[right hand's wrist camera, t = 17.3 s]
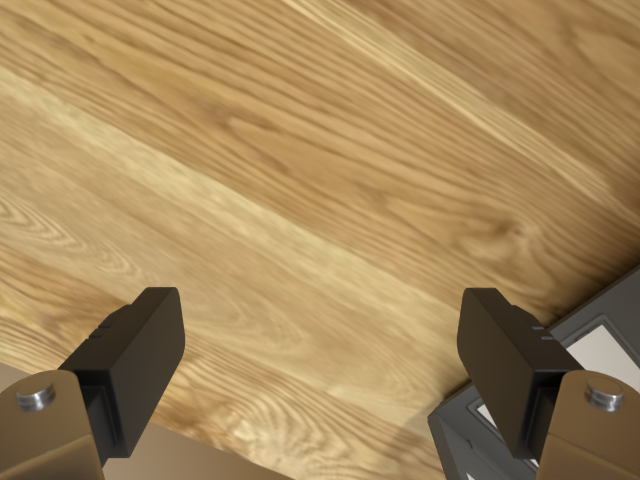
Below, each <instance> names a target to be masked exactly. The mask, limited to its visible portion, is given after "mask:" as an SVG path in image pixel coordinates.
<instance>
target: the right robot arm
mask: <svg viewBox="0 0 640 480" xmlns="http://www.w3.org/2000/svg"><path fill="white" fill-rule="evenodd" d="M184 348H185V332H184V325H183V317H182V310H181V303H180V296H179V292H178V290H177V288H175V287H147V288H146V289H145V290H144V291H143V292H142V293H141V294H140V295H139V296H138V297H137V299H136V300H135V301H134V302H133V303H132V304H131V305H125V306H123V307H122V308H120V309H118V310H116V311H115V312H113V313H111V314H110V315H109V316H108V317H107V318H106V319H105V320H104V321H103V322H102V323H101V324H100V325H99V326H98V329H95V330H94V331H93V332H92V333H91V334H90V335H89V339H86V340H85V341H84V342H83V343H82V344H81V345H80V346H79V347H78V348H77V349H76V350H75V351H74V352H73V353H72V354H71V355H70V356H69V357H68V358H67V359H66V360H65V361H64V363H63V364H62V365H61V366H60V367H59V368H58V369H57V370H50V371H45V372H40V373H37V374H34V375H31V376H28V377H26V378H24V379H22V380H19V381H18V382H16V383H14V384H12V385H11V386H9V387H8V388H6V389H5V390H4V391H3V392H1V393H0V480H105V478H104V474H103V470H102V468H103V466H104V465H105V463H106V461H107V460H108V458H130V456H131V454H132V452H133V450H134V448H135V446H136V444H137V442H138V440H139V439H140V437H141V435H142V433H143V431H144V429H145V427H146V425H147V423H148V422H149V420H150V418H151V416H152V414H153V412H154V410H155V408H156V406H157V404H158V402H159V401H160V399H161V397H162V395H163V393H164V391H165V389H166V387H167V385H168V383H169V382H170V380H171V378H172V376H173V374H174V372H175V370H176V368H177V366H178V364H179V362H180V361H181V359H182V356H183V353H184ZM457 348H458V353H459V357H460V359H461V361H462V363H463V365H464V367H465V369H466V371H467V372H468V374H469V376H470V378H471V380H472V382H473V384H474V386H475V387H476V389H477V391H478V393H479V395H480V397H481V399H482V401H483V403H484V404H485V406H486V408H487V410H488V412H489V414H490V416H491V418H492V419H493V421H494V423H495V425H496V427H497V429H498V431H499V433H500V434H501V436H502V438H503V440H504V442H505V444H506V446H507V448H508V450H509V451H510V453H511V455H512V457H513V459H514V460H536V462H537V464H538V466H539V467H538V470H537V474H536V478H535V480H640V393H639V392H637V391H636V390H635V389H634V388H632V387H631V386H629V385H628V384H626V383H624V382H622V381H621V380H619V379H616V378H614V377H612V376H609V375H606V374H603V373H600V372H595V371H590V370H586V369H585V368H584V367H583V366H582V365H581V364H580V363H579V362H578V361H577V360H576V359H575V358H574V357H573V356H572V355H571V354H570V353H569V352H568V351H567V350H566V349H565V348H564V347H563V346H562V345H561V344H560V343H559V342H558V340H555V339H554V336H553V335H552V334H551V333H550V332H549V331H548V330H545V327H544V326H543V325H542V324H541V323H540V322H539V321H538V320H537V319H536V318H535V317H534V316H533V315H532V314H530V313H528V312H527V311H525V310H523V309H521V308H520V307H518V306H516V305H511V304H510V303H509V302H508V301H507V300H506V299H505V298H504V296H503V295H502V294H501V293H500V292H499V291H498V290H497V289H496V288H466V289H465V291H464V293H463V298H462V305H461V312H460V319H459V326H458V333H457Z"/></svg>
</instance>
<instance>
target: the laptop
mask: <svg viewBox="0 0 640 480" xmlns="http://www.w3.org/2000/svg"><path fill="white" fill-rule="evenodd" d="M546 330H548V331H549V332H550V333H551V334H552V335H553V336H554V339H555V340H558V342H559V343H560V344H561V345H562V346H563V347H564V348H565V349H566V350H567V351H568V352H569V353H570V354H571V355H572V356H573V357H574V358H575V359H576V360H577V361H578V362H579V363H580V364H581V365H582V366H583V367H584V368H585V369H586V370H590V371H595V372H600V373H603V374H606V375H609V376H612V377H614V378H616V379H619V380H621V381H622V382H624V383H626V384H628V385H629V386H631V387H632V388H634V389H635V390H636V391H637V392H639V393H640V264H638V265H637V266H636V267H634V268H633V269H631V270H630V271H628V272H627V273H626V274H624V275H623V276H621V277H620V278H618V279H617V280H616V281H614V282H613V283H611V284H610V285H608V286H607V287H606V288H604V289H603V290H601V291H600V292H598V293H597V294H596V295H594V296H593V297H591V298H590V299H588V300H587V301H586V302H584V303H583V304H581V305H580V306H578V307H577V308H576V309H574V310H573V311H571V312H570V313H568V314H567V315H566V316H564V317H563V318H561V319H560V320H558V321H557V322H556V323H554V324H553V325H551V326H550V327H548V328H547V329H546ZM427 418H428V424H429V427H430V430H431V433H432V436H433V439H434V442H435V445H436V448H437V452H438V455H439V458H440V461H441V464H442V467H443V470H444V473H445V476H446V479H447V480H535V478H536V474H537V470H538V467H539V466H538V464H537V462H536V460H514V459H513V457H512V455H511V453H510V451H509V450H508V448H507V446H506V444H505V442H504V440H503V438H502V436H501V434H500V433H499V431H498V429H497V427H496V425H495V423H494V421H493V419H492V418H491V416H490V414H489V412H488V410H487V408H486V406H485V404H484V403H483V401H482V399H481V397H480V395H479V393H478V391H477V389H476V387H475V386H474V384H473V382H472V381H471V382H470V383H469V384H467V385H466V386H464V387H463V388H461V389H460V390H459V391H457V392H456V393H454V394H453V395H451V396H450V397H449V398H447V399H446V400H444V401H443V402H441V403H440V404H439V405H438V406H437V407H436V409H435V410H434V411H433V412H432V413H431V414H430V415H429V416H428V417H427Z"/></svg>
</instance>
